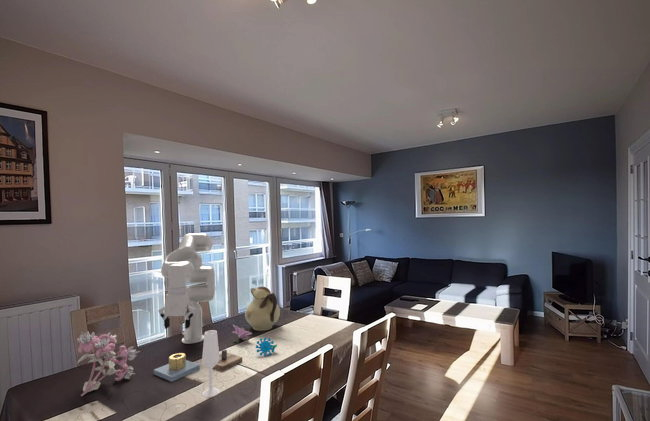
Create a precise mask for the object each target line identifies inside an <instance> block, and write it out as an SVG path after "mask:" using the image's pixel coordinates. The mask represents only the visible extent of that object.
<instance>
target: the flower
mask: <svg viewBox="0 0 650 421" xmlns="http://www.w3.org/2000/svg"><path fill="white" fill-rule="evenodd" d="M77 342H78V343H79V345H78V348H77V351H78V353H80V354H82V353H83V352H85V353H86V354H83V355H82V356H81V357H80V358H79V359H78V360H77V364H79V363H80V362H82V361H84V360H85V359H87V358H88V359H90V360H88V362H87V364H90V363H93V366H92V369H91V372H90V376H89V379H88V381H85V382H84V384H83V387H82V393H81V394H80V396H81V397H83V396H84V395H86V394H87V393H89V392H92V391H96V390H98V389H99V388H100V386H101V384H102V383H101V382H100V381H102V380H103V379H104V378H105V377H107V376H111V375H114V374H115V375H116V376H117V377H114V380H115V381H121V380H122V379H123V378H124V379H125V380H130V378H131V376H133V375H136V373H134V371H135V368H133V366H130V365H128V364H127V361H133V360H135V358H136V357H138V355H137V353H140V352H141V350H139V351H138V350H137V349H136V348H134V347H135V345H134V346H133V345H132V346H129V347H128V348H127V346H125V345H120V346H119V347H118V349H119V350H118V351H117V352H115V351H114V350H115V349H116V344H117V342H118V339H117V334H114V335H112V334H111V332H108V333H106V334H101V335H99V336H97V335H95V332H93V331H92V332H91V334H90V332H89V330H87V331H86V332H84V333H83V331H81V334H79V336H78V338H77ZM95 349H96V351H95ZM90 352H92V353H91V354H90ZM88 353H89V354H88ZM101 357H103V358H104V360H103V359H102V358H101ZM117 358H122V359H121V360H119V359H117ZM97 362H98V363H99V364H100V366H97V367H96V365H97ZM116 365H118V366H120V368H119V369H115V366H116ZM105 367H107V368H108V369H106V368H105ZM121 368H122V369H121ZM96 371H99V372H98V373H97V374H96V376H94V373H95V372H96ZM101 373H102V374H103V376H101V377H100V378H99V376H100V375H101ZM93 376H94V378H93ZM98 378H99V379H98ZM97 379H98V380H97Z"/></svg>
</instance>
